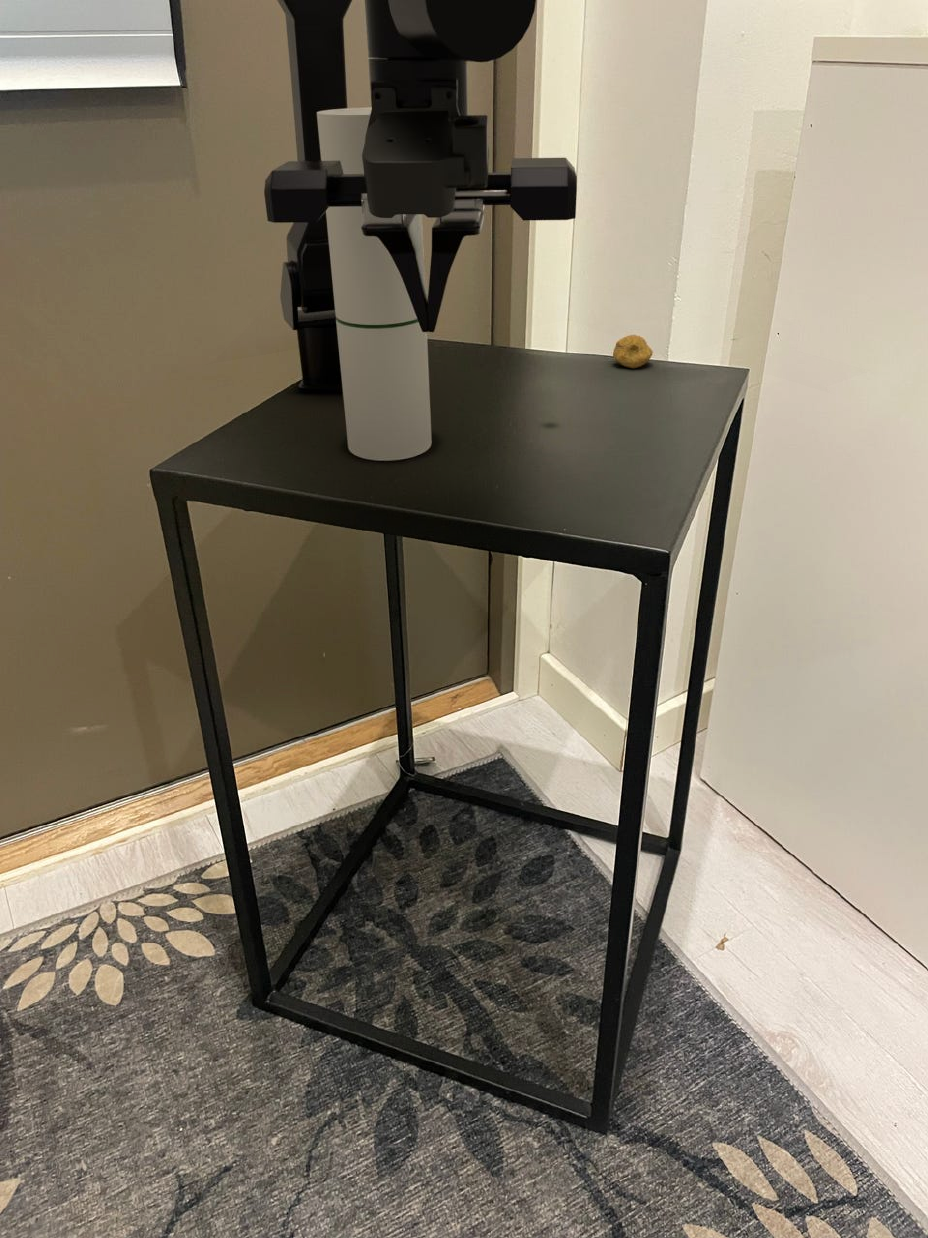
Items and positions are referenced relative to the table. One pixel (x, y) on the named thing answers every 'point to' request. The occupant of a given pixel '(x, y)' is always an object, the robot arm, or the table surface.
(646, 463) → the table surface
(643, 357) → the tan lumpy rounded lump
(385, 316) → the cylindrical container
